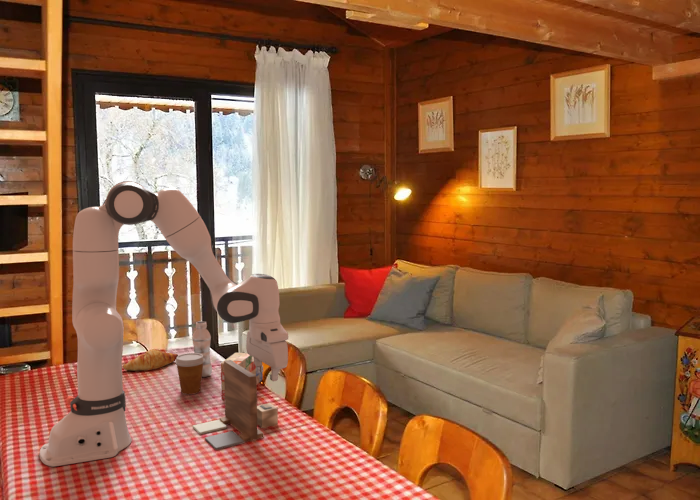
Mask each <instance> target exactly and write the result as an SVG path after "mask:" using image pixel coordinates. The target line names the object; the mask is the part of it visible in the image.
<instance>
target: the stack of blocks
mask: <svg viewBox="0 0 700 500" xmlns="http://www.w3.org/2000/svg"><path fill="white" fill-rule="evenodd" d="M227 360H231V361H233V362H235V363H236V364H238V365H239V366H241V367H243V368H244V369H246V370H248V371H249V372H251V373H252V374H254V375H256V381H257V385H258V384H259V383H260V382H262V380H263V378H264V377H263V372H260V373H258V372H257V371H256V366H255V363H254V360H253V357H252V356H251V355H249V354H248V353H247V352H246V353H245V352H234V353H233V354H231V355H230V356H228V357H227V358H226V359H225V360H223V361H221V362H220V381H221V382H220V383H221V388H220V389H221V392H220V393H221V399H222V400H225V385H224V361H227Z"/></svg>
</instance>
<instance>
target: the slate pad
mask: <svg viewBox="0 0 700 500" xmlns="http://www.w3.org/2000/svg"><path fill="white" fill-rule="evenodd" d="M204 440H205V441H206V442H207V443H208V444H209V445H210V446H211V447H212V448H213V449H214V450H215V451H218V450H221V449H225V448H230V447H232V446H233V447H234V446H237V445H238V446H239V445H241V444H244V443H245V442H244V440H243V439H241V438H240V437H239V434H237V433H236V432H234V431H233V430H231V431H227V432H221V433H218V434H214V435H210V436H205V437H204Z"/></svg>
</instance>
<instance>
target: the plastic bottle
mask: <svg viewBox="0 0 700 500" xmlns="http://www.w3.org/2000/svg"><path fill="white" fill-rule="evenodd" d="M207 326H208V325H207V321H203V320H199V321H196V322H195V330H194V332H193V334H192V336H191V340H192V346H193V353H199V354H202V355H203V358H204V362H203V369H202V378H205V377H209V376H211V374H212V371H213V365H212V361H211V360H212V359H211V353H210V351H211V349H210V348H211V340H212V339H211V338H212V336H211V333H210V332H209V330H208V329H207Z"/></svg>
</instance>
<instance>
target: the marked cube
mask: <svg viewBox="0 0 700 500" xmlns="http://www.w3.org/2000/svg"><path fill="white" fill-rule="evenodd" d="M278 415H279V413H278V407H277V406H275V404H272V403H271V402H268V403H262V404H259V405H258V404H257V426H258V427H260V428H262V429H263V428H267V427H273V426H276V425H279V417H278Z"/></svg>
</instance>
